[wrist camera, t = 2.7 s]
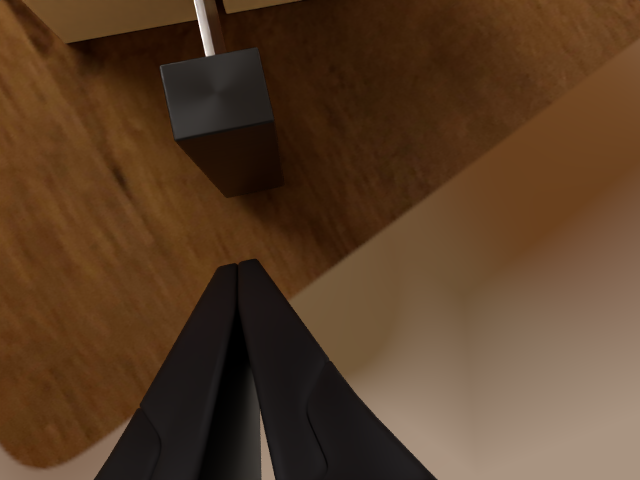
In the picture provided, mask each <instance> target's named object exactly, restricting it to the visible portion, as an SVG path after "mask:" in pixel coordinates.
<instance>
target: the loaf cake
mask: <svg viewBox="0 0 640 480" xmlns="http://www.w3.org/2000/svg"><path fill="white" fill-rule="evenodd" d="M22 1H23V2H24V3H25V4H26V5H27V6H28V7H29V8H30V9H31V10H32V11H33V12H34V13H35V14H36V15H37V16H38V17H39V18H40V19H41V20H42V21H43V22H44V23H45V24H46V25H47V26H48V27H49V28H50V29H51V30H52V31H53V32H54V33H55V34H56V35H57V36H58V37H59V38H60V39H61V40H62V41H63V42H64V43H71V42H77V41H82V40H88V39H93V38H99V37H104V36H110V35H115V34H121V33H126V32H132V31H137V30H143V29H149V28H154V27H160V26H165V25H171V24H176V23H182V22H187V21H193V20H198V18H197V14H196V9H195V5H194V0H22ZM295 1H301V0H223V4H224V8H225V11H226V13H227V14H229V13H235V12H240V11H246V10H251V9H257V8H262V7H268V6H273V5H279V4H284V3H290V2H295Z"/></svg>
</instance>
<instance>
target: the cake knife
mask: <svg viewBox="0 0 640 480" xmlns="http://www.w3.org/2000/svg"><path fill="white" fill-rule="evenodd" d="M194 5H195V9H196V14H197V18H198V23H199V28H200V32H201V37H202V41H203V46H204V51H205V55H206V57H201V58H196V59H190V60H185V61H180V62H174V63H169V64H164V65H160V68H159V69H160V73H161V78H162V83H163V88H164V93H165V98H166V102H167V107H168V112H169V117H170V122H171V126H172V131H173V136H174V140H175V142H176V143H177V144H178V145H179V146H180V147H181V148H182V149H183V150H184V151H185V153H186V154H187V155H188V156H189V157H190V158H191V159H192V160H193V161H194V163H195V164H196V165H197V166H198V167H199V168H200V169H201V170H202V171H203V173H204V174H205V175H206V176H207V177H208V178H209V179H210V180H211V181H212V183H213V184H214V185H215V186H216V187H217V188H218V189H219V190H220V191H221V192H222V194H223V195H224V196H225V197H226V198H229V197H234V196H238V195H243V194H248V193H252V192H257V191H262V190H266V189H271V188H276V187H280V186H284V179H283V172H282V166H281V159H280V153H279V146H278V139H277V133H276V126H275V119H274V115H273V111H272V106H271V102H270V98H269V93H268V89H267V84H266V80H265V76H264V71H263V67H262V63H261V58H260V54H259V50H258V48H257V47H254V48H249V49H243V50H238V51H233V52H227V51H226V47H225V42H224V38H223V33H222V29H221V24H220V20H219V15H218V11H217V6H216V2H215V0H194Z"/></svg>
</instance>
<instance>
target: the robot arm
mask: <svg viewBox="0 0 640 480" xmlns="http://www.w3.org/2000/svg"><path fill="white" fill-rule="evenodd" d="M260 411H261V416H262V420H263V424H264V430H265V434H266V439H267V443H268V448H269V452H270V457H271V461H272V466H273V471H274V475H275V480H437V479H436V478H435V477H434V476H433V475H432V474H431V473H430V472H429V471H428V470H427V469H426V468H425V467H424V466H423V465H422V464H421V462H420V461H419V460H418V459H417V458H416V457H415V456H414V455H413V454H412V453H411V452H410V451H409V450H408V449H407V448H406V447H405V446H404V445H403V444H402V443H401V442H400V441H399V440H398V439H397V438H396V437H395V436H394V434H393V433H392V432H391V431H390V430H389V429H388V428H387V427H386V426H385V425H384V424H383V423H382V422H381V421H380V420H379V419H378V418H377V417H376V416H375V415H374V413H373V412H372V411H371V410H370V409H369V408H368V407H367V406H366V405H365V404H364V402H363V401H362V400H361V399H360V398H359V397H358V396H357V394H356V393H355V392H354V391H353V389H352V388H351V387H350V386H349V384H348V383H347V382H346V380H345V379H344V378H343V377H342V375H341V374H340V373H339V371H338V370H337V368H336V367H335V366H334V364H333V363H332V362H331V361H329V358H328V356H327V355H326V354H325V352H324V351H323V350H322V348H321V347H320V345H319V344H318V343H317V341H316V340H315V338H314V337H313V336H312V334H311V333H310V331H309V330H308V329H307V327H306V326H305V325H304V323H303V322H302V321H301V319H300V318H299V316H298V315H297V313H296V312H295V311H294V309H293V308H292V307H291V305H290V304H289V302H288V301H287V300H286V298H285V297H284V295H283V294H282V293H281V291H280V290H279V289H278V287H277V286H276V284H275V283H274V282H273V280H272V279H271V278H270V276H269V275H268V273H267V272H266V271H265V269H264V268H263V266H262V265H261V264H260V262H259V261H258V260H257V259H251V260H246V261H242V262H240V263H239V264H238V265H237V264H236V263H233V264H228V265H224V266H220V267H218V268H217V270H216V271H215V273H214V275H213V277H212V278H211V280H210V282H209V284H208V285H207V287H206V289H205V291H204V292H203V294H202V296H201V298H200V299H199V301H198V303H197V305H196V306H195V308H194V310H193V312H192V314H191V315H190V317H189V319H188V321H187V322H186V324H185V326H184V328H183V329H182V331H181V333H180V335H179V336H178V338H177V340H176V342H175V343H174V345H173V347H172V349H171V350H170V352H169V354H168V356H167V357H166V359H165V361H164V363H163V364H162V366H161V368H160V370H159V371H158V373H157V375H156V377H155V379H154V380H153V382H152V384H151V386H150V387H149V389H148V391H147V393H146V394H145V396H144V398H143V400H142V401H141V403H140V408H138V409H137V410H136V412H135V413H134V415H133V417H132V419H131V420H130V422H129V424H128V426H127V427H126V429H125V431H124V433H123V434H122V436H121V437H120V439H119V441H118V443H117V444H116V446H115V447H114V449H113V451H112V452H111V454H110V456H109V457H108V459H107V461H106V462H105V463H104V465H103V467H102V468H101V470H100V471H99V473H98V474H97V476H96V477H95V479H94V480H261V441H260Z"/></svg>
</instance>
